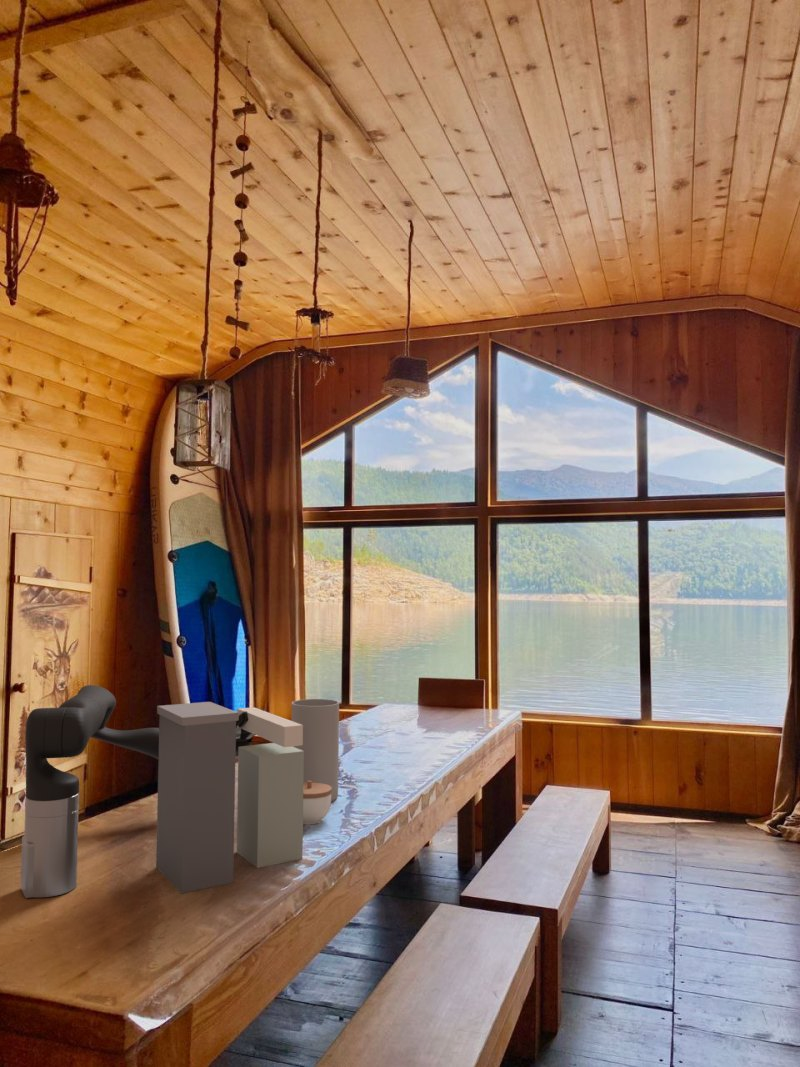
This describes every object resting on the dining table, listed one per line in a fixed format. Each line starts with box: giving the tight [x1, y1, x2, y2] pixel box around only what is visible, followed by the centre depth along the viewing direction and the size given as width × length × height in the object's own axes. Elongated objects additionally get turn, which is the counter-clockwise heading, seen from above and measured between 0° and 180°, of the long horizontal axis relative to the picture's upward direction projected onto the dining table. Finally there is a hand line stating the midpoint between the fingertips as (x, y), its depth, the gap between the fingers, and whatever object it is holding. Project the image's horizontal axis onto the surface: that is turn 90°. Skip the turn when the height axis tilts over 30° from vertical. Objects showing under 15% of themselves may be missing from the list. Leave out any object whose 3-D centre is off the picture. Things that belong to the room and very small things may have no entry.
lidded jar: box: [303, 781, 332, 825], centre depth 195 cm, size 11×11×9 cm
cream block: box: [236, 706, 303, 747], centre depth 173 cm, size 4×25×4 cm, turn 33°
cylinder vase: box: [290, 698, 340, 802], centre depth 215 cm, size 12×12×25 cm
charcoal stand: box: [155, 701, 239, 894], centre depth 160 cm, size 11×16×32 cm
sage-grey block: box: [236, 742, 304, 868], centre depth 171 cm, size 10×11×22 cm
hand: (256, 714), depth 178 cm, fingers closed on cream block, 4 cm apart
